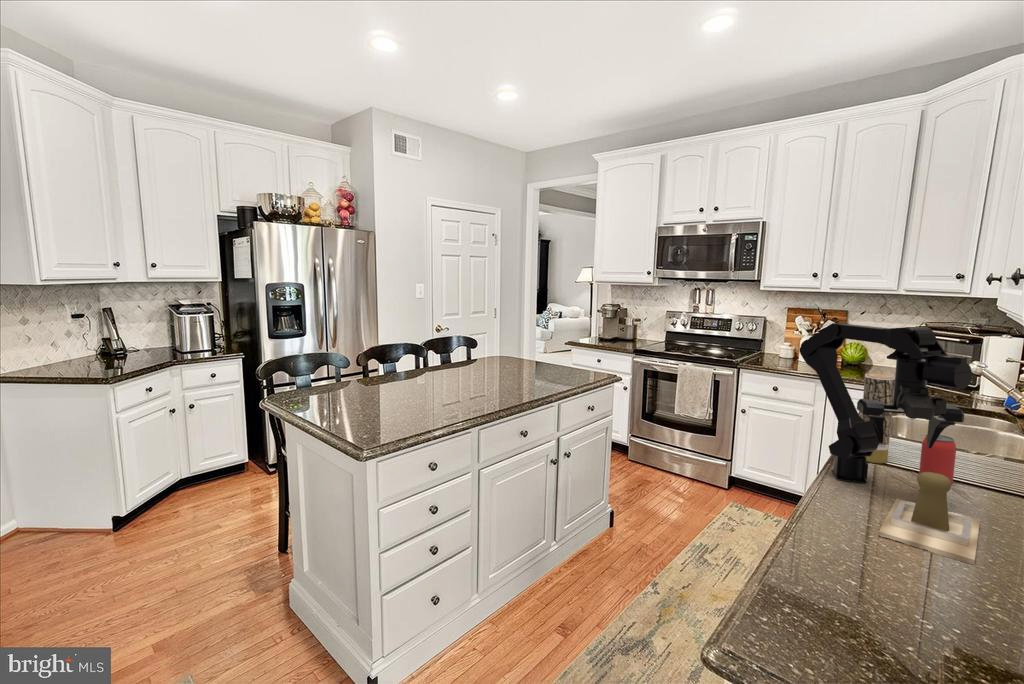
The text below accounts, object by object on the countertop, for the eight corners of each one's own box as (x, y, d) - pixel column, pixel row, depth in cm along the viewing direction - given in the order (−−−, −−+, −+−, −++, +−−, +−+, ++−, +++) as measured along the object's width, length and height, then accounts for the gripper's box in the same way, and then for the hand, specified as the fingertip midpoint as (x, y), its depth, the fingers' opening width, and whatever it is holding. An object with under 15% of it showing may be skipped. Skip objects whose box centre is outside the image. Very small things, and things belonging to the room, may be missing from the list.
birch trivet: (878, 536, 96) (878, 531, 96) (896, 502, 111) (896, 498, 111) (974, 565, 86) (974, 559, 86) (979, 523, 101) (980, 519, 101)
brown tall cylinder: (892, 465, 135) (900, 378, 132) (864, 463, 136) (872, 377, 133) (879, 457, 141) (887, 374, 139) (853, 455, 143) (860, 373, 140)
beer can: (918, 475, 128) (922, 431, 126) (951, 481, 124) (956, 436, 122) (918, 482, 123) (923, 437, 121) (953, 489, 119) (958, 443, 117)
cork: (920, 515, 103) (925, 466, 102) (955, 528, 97) (961, 477, 96) (904, 521, 100) (909, 471, 99) (939, 535, 95) (945, 482, 94)
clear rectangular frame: (890, 524, 99) (891, 518, 99) (899, 507, 107) (900, 500, 107) (967, 546, 91) (968, 539, 90) (971, 525, 99) (971, 518, 98)
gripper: (873, 384, 107) (867, 451, 109) (980, 390, 100) (973, 462, 101) (858, 375, 117) (853, 437, 119) (955, 381, 110) (948, 446, 112)
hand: (904, 445), depth 112 cm, fingers open, 9 cm apart
